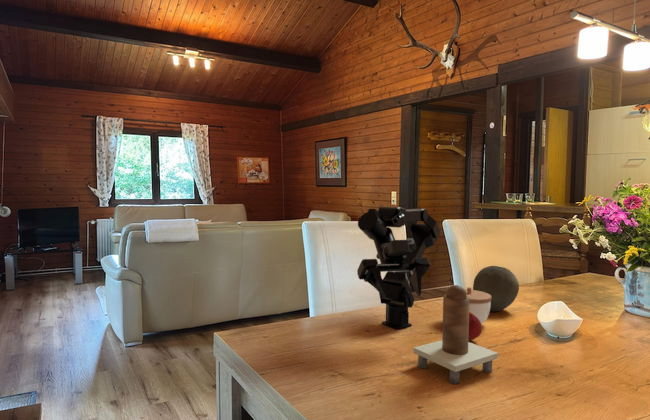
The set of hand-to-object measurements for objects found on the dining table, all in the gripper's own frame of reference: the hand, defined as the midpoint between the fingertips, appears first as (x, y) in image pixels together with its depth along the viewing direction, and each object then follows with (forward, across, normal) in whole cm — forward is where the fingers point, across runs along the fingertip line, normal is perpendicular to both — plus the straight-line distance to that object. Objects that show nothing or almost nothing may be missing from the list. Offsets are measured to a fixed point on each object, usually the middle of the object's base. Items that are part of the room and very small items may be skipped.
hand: (403, 296), depth 106 cm
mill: (+16, +7, -3) cm, 17 cm away
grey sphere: (-9, +47, +28) cm, 55 cm away
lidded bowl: (-1, +29, +20) cm, 36 cm away
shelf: (+19, +7, 0) cm, 20 cm away
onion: (+8, +21, +11) cm, 25 cm away
